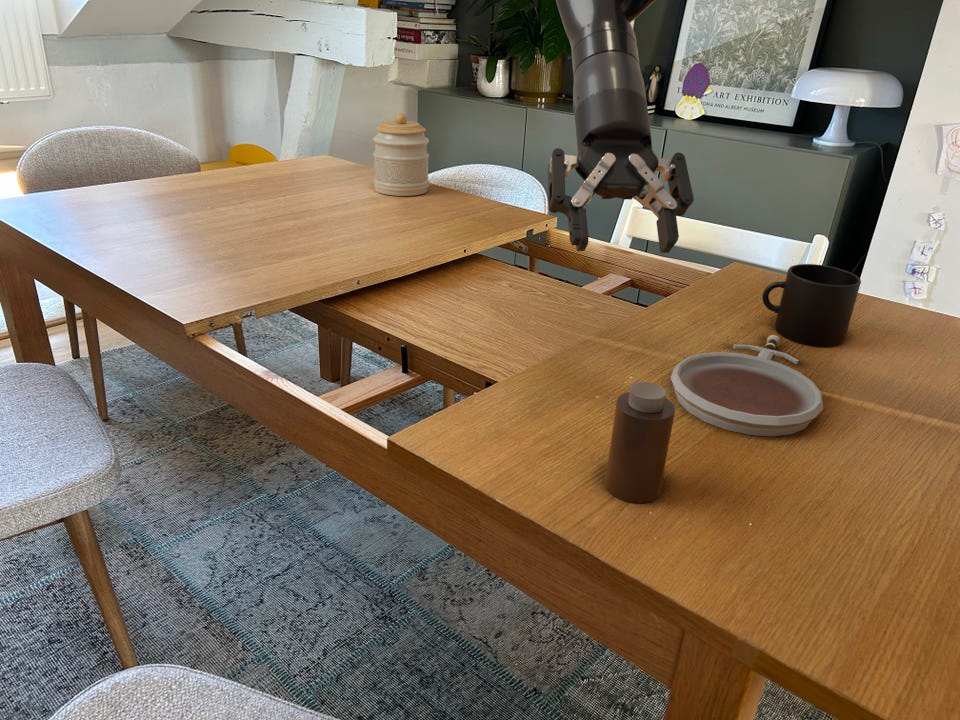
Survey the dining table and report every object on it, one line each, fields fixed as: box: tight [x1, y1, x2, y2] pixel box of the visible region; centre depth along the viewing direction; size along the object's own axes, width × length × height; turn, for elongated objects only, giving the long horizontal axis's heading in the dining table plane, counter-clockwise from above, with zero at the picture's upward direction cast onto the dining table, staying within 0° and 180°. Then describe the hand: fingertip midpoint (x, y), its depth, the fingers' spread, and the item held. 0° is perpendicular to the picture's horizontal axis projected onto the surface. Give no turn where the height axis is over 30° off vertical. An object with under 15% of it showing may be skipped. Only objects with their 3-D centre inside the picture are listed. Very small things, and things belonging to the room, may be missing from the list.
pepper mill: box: [604, 381, 676, 504], centre depth 68 cm, size 5×5×10 cm
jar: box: [372, 112, 430, 197], centre depth 170 cm, size 13×13×18 cm
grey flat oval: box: [670, 334, 824, 437], centre depth 90 cm, size 17×3×28 cm
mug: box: [762, 263, 862, 348], centre depth 104 cm, size 9×12×9 cm
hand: (625, 248), depth 72 cm, fingers open, 8 cm apart
